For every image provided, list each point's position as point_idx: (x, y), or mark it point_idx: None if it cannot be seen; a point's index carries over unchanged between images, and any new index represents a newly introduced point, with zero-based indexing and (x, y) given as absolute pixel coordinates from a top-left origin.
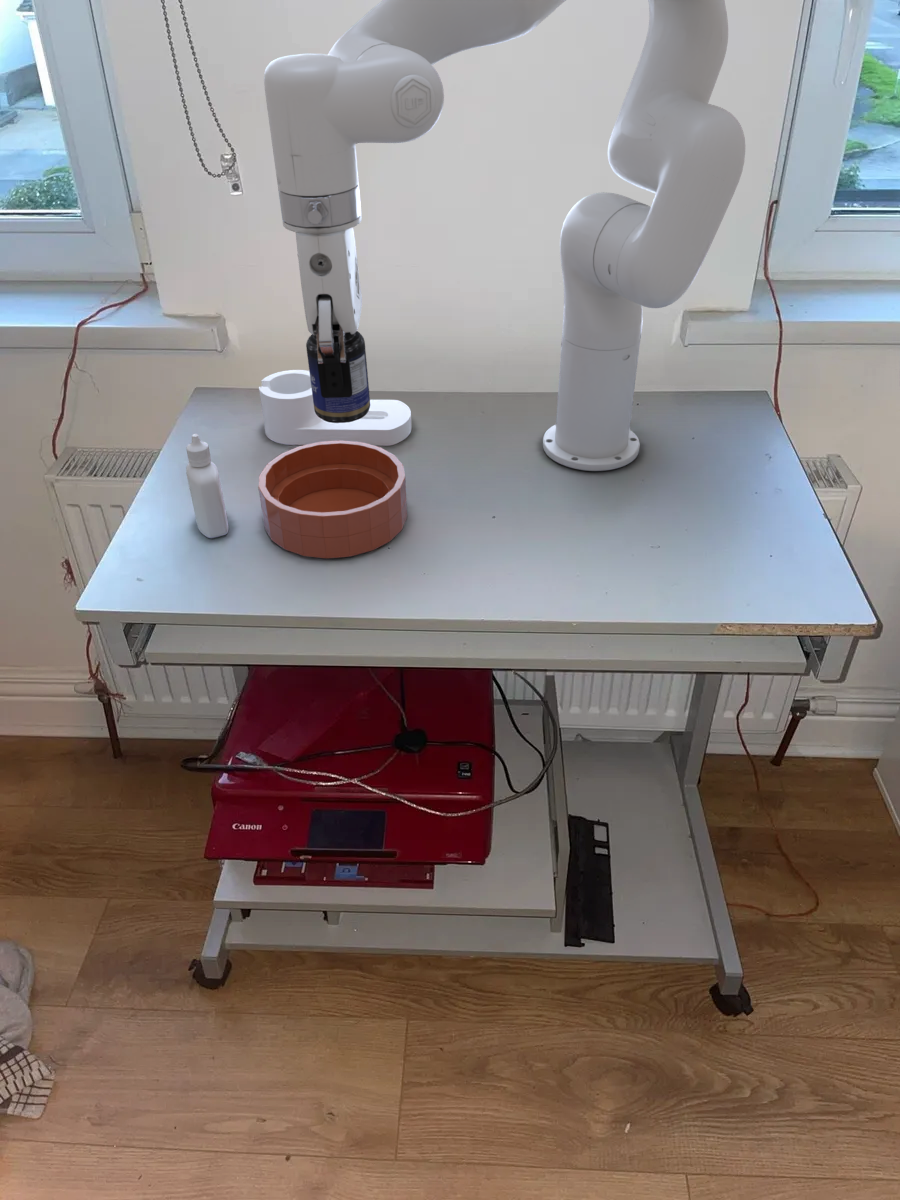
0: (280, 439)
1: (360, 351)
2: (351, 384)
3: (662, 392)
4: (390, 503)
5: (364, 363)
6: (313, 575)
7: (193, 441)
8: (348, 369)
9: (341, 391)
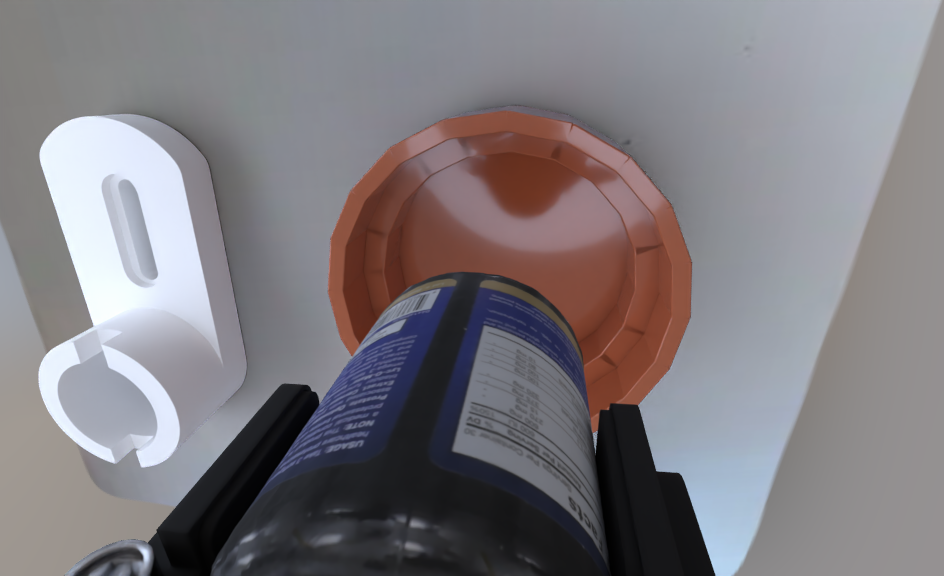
0: (240, 379)
1: (510, 510)
2: (630, 438)
3: None
4: (617, 147)
5: (477, 409)
6: (706, 292)
7: None
8: (672, 533)
9: (677, 474)
